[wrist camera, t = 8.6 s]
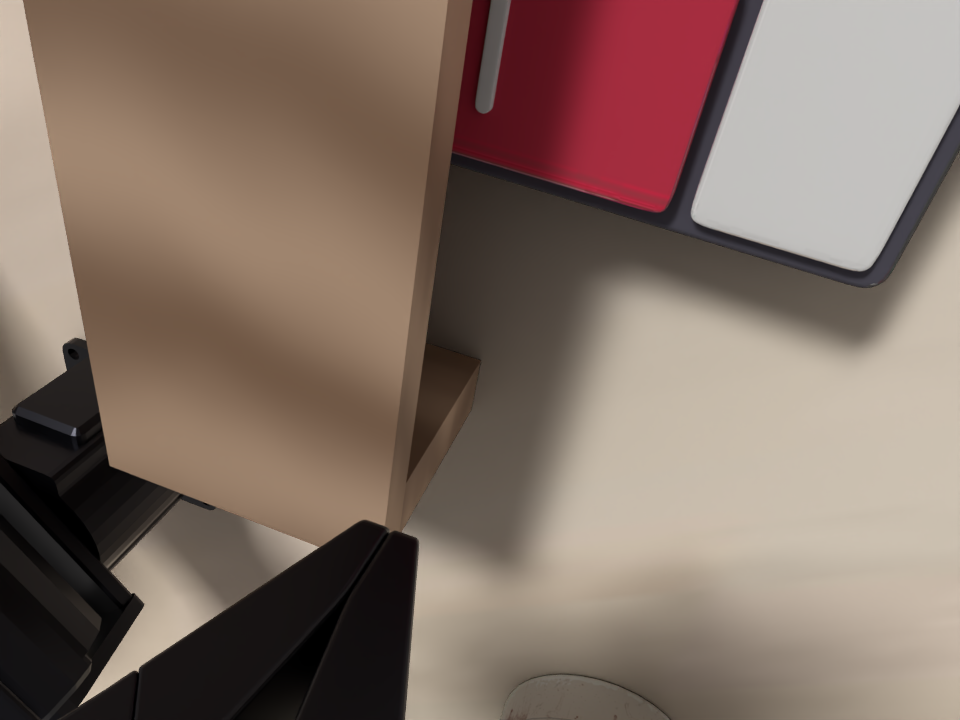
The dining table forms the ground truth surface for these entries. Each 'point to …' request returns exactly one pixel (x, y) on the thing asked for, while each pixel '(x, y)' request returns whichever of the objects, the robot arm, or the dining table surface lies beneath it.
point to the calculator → (724, 117)
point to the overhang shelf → (262, 244)
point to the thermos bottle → (576, 701)
